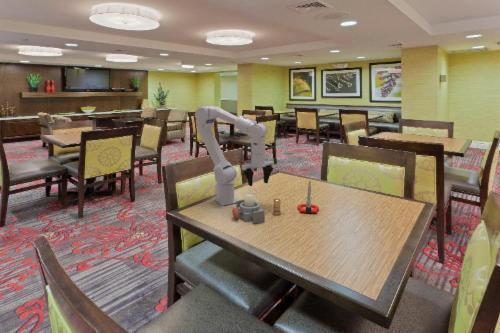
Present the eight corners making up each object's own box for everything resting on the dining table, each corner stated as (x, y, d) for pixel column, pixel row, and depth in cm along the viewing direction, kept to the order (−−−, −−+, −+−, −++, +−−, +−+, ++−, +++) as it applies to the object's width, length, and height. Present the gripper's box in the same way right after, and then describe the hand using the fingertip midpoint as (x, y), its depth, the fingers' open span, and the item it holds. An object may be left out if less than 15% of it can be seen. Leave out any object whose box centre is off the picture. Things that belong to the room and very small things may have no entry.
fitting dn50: (242, 207, 131) (241, 193, 130) (253, 205, 133) (252, 192, 132) (246, 211, 127) (245, 197, 126) (257, 209, 129) (257, 195, 127)
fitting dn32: (271, 212, 134) (271, 199, 133) (277, 211, 136) (278, 197, 134) (275, 215, 131) (275, 201, 130) (282, 214, 133) (282, 200, 131)
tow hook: (297, 205, 143) (297, 213, 133) (298, 175, 140) (298, 180, 131) (318, 207, 142) (319, 214, 132) (319, 176, 139) (321, 181, 129)
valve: (226, 213, 134) (226, 202, 132) (249, 208, 139) (249, 197, 138) (243, 226, 121) (243, 214, 120) (268, 220, 126) (268, 208, 125)
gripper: (247, 156, 128) (247, 189, 131) (278, 152, 135) (277, 184, 138) (239, 153, 134) (239, 184, 137) (268, 150, 141) (268, 180, 144)
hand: (258, 184), depth 138 cm, fingers open, 7 cm apart
